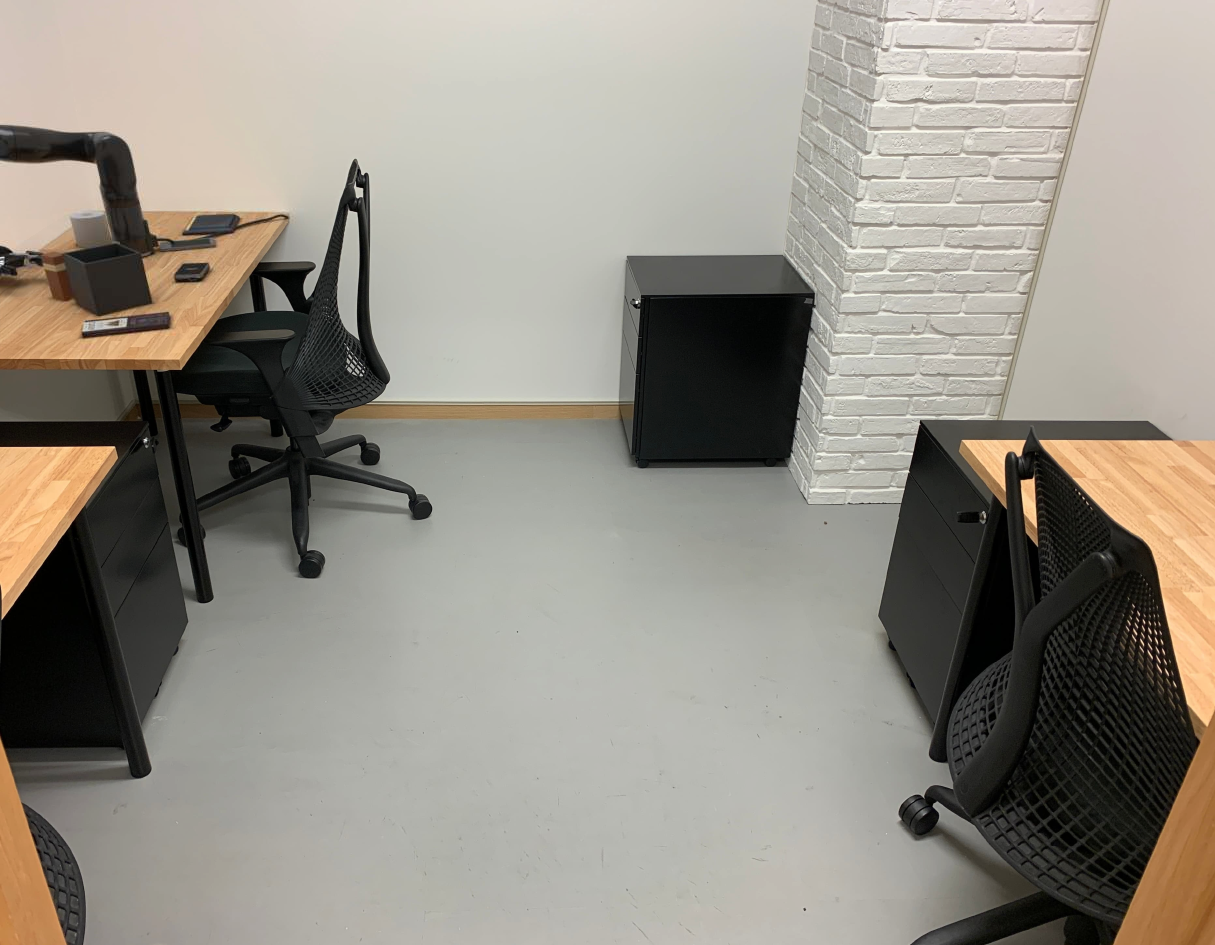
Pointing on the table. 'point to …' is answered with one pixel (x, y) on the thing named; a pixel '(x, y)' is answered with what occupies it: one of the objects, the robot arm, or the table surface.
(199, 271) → the external hard drive
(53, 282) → the chocolate box
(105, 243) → the toilet tissue
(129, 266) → the trash can
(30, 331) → the table surface
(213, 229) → the dark blue book
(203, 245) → the smartphone
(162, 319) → the chocolate bar
